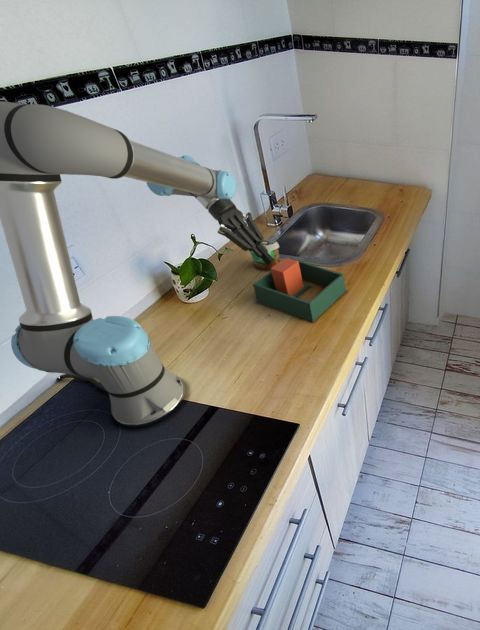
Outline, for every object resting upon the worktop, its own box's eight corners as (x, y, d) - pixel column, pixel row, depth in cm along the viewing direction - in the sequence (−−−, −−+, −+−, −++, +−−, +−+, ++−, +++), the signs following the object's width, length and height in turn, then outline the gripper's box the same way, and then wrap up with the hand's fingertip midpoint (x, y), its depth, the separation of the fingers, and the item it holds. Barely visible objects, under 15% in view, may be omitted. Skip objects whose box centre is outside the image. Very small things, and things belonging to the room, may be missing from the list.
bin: (257, 302, 128) (252, 284, 123) (293, 274, 140) (290, 257, 136) (313, 322, 121) (309, 304, 116) (345, 291, 134) (343, 274, 129)
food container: (244, 268, 143) (237, 243, 136) (254, 259, 147) (248, 235, 141) (274, 274, 140) (268, 250, 134) (283, 265, 145) (278, 241, 138)
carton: (277, 296, 130) (270, 268, 123) (292, 285, 136) (286, 257, 129) (289, 300, 129) (283, 272, 122) (304, 288, 134) (298, 261, 127)
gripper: (229, 202, 129) (279, 258, 135) (196, 217, 120) (252, 277, 126) (237, 189, 124) (289, 248, 130) (203, 204, 115) (261, 267, 121)
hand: (270, 262), depth 128 cm, fingers closed
